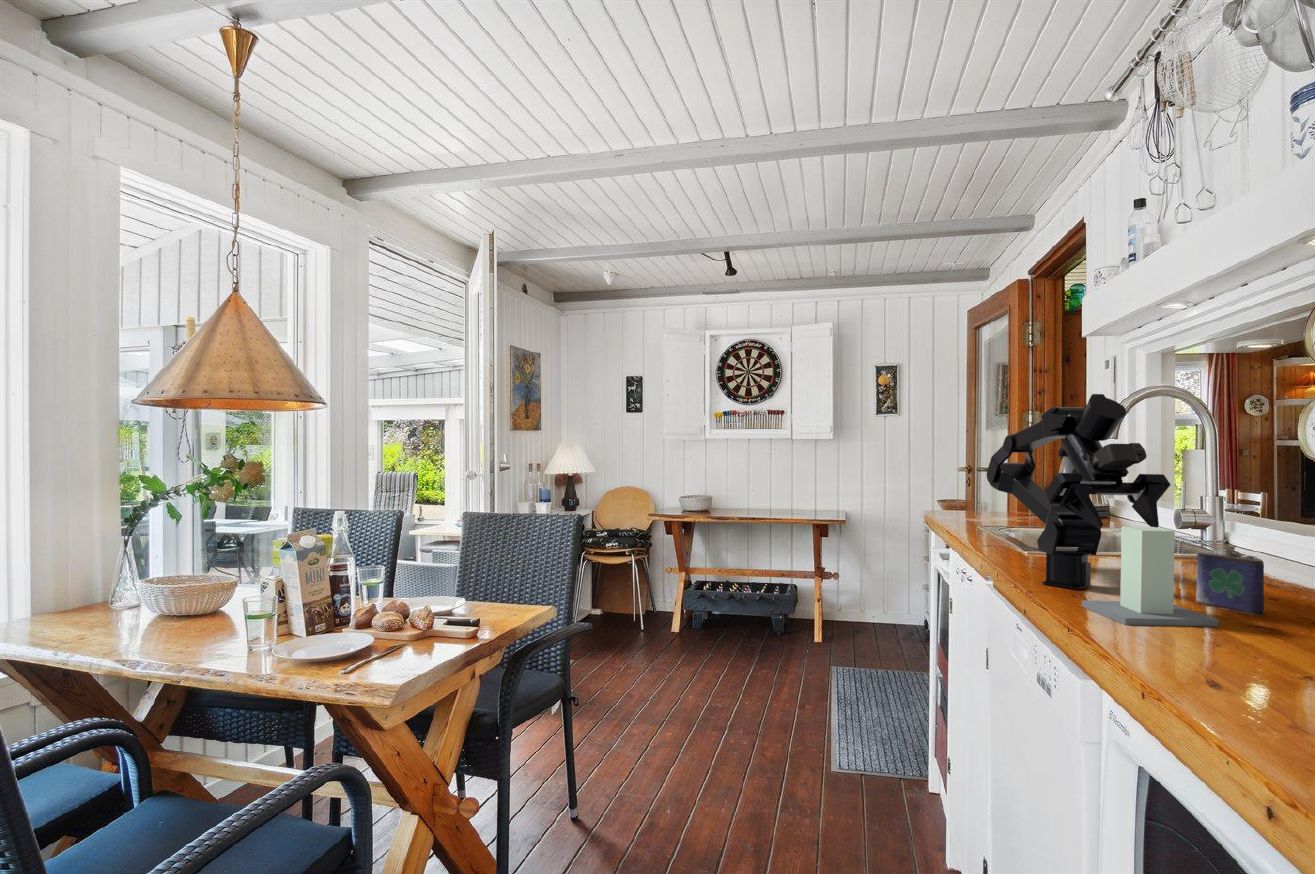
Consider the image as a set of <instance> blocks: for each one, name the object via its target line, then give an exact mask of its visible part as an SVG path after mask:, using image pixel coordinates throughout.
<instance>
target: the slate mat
mask: <svg viewBox="0 0 1315 874" xmlns="http://www.w3.org/2000/svg"><path fill="white" fill-rule="evenodd" d="M1081 607H1082V608H1084V609H1086V610H1090V611H1092V612H1094V613H1097V614H1099V615H1100V616H1103V617H1106V618H1108V619H1110V620H1113V621H1116V622H1118V623H1120V624H1122V625H1125V626H1169V627H1170V626H1175V627H1176V626H1178V627H1179V626H1180V627H1182V626H1183V627H1219V619H1217V618H1214V617H1212V616H1209V615H1205V614H1203V613H1200V612H1197V611H1193V610H1191V609H1187V608H1184V607H1182V606H1178V605H1176V604H1173V614H1148V613H1139V612H1136V611H1133V610H1131V609H1128V608H1126V607H1123V606H1121V605H1120V600H1081Z"/></svg>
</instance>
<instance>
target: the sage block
mask: <svg viewBox="0 0 1315 874" xmlns="http://www.w3.org/2000/svg"><path fill="white" fill-rule="evenodd" d="M1175 533H1176V532H1175V530H1171V529H1166V528H1161V527H1158V528H1156V527H1150V526H1135V525H1134V526H1132V525H1130V526H1129V525H1128V526H1126V525H1125V526H1123V525H1122V526H1121V535H1120V536H1121V540H1120V542H1121V543H1120V544H1121V547H1120V549H1121V551H1120V594H1119V595H1120V598H1119V601H1120V605H1121V606H1123V607H1126V608H1128V609H1131V610H1133V611H1136V612H1139V613H1148V614H1173V605H1174V598H1175V596H1174V595H1175V592H1174V591H1175V549H1176V548H1175V544H1176V543H1175V541H1176V540H1175V539H1176V538H1175V537H1176V534H1175Z"/></svg>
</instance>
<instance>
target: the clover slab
mask: <svg viewBox="0 0 1315 874" xmlns="http://www.w3.org/2000/svg"><path fill="white" fill-rule="evenodd" d="M1236 548H1238V547H1237V545H1234V544H1233V545H1228V546H1226V545H1225V546H1223V550H1225V554H1223V553H1222V554H1220V553H1215V552H1204V551H1200V552H1198V553H1197V554H1196V574H1197V575H1196V595H1195V597H1196V598H1195V601H1196V604H1199V605H1200V606H1205V607H1211V608H1216V609H1219V610H1225V611H1232V612H1235V613H1237V612H1238V613H1242V614H1247V615H1251V616H1259V617H1262V616H1264V612H1265V611H1264V609H1265V592H1264V591H1265V587H1264V586H1265V584H1264V582H1265V579H1264V578H1265V577H1264V576H1265V572H1264V571H1265V564H1264V561H1263V560H1262V559H1261V558H1255V557H1254V555H1249V554H1247V555H1246V556H1245V554H1244V553H1243V554H1242V553H1241V552H1239V551H1236V550H1235V549H1236Z"/></svg>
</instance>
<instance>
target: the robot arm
mask: <svg viewBox="0 0 1315 874" xmlns="http://www.w3.org/2000/svg"><path fill="white" fill-rule="evenodd" d="M1126 414H1127V410H1126V408H1125V406H1124V405H1123V404H1121V403H1119V402H1118V401H1116V400H1113V399H1111V398H1109V397H1106V396H1105V394H1103V393H1092V394H1091V396H1089V399H1088V402H1087V404H1086V406H1085V407H1084V406H1082V407H1081V406H1080V407H1079V406H1077V407H1076V406H1074V407H1073V406H1072V407H1071V406H1062V407H1061V406H1052V407H1050V408H1048V409H1047V410H1046V411H1045V412H1044V413H1042V415H1041V420H1040V421H1038V422H1036V423H1034V424H1032V425H1030V426H1028V427H1026V428H1023V429H1022V430H1019V431H1017V432H1015V433H1013V434H1012V433H1011V434H1008V435H1006V436H1005V437H1004V441H1003V443H1002V446H1000V448H999V449H997V451H996V452H994V453H993V455H992V456H991V458H990V461H989V464H988V468H987V469H986V470H987V471H986V478H987V482H988V484H989V485H990V487H992V488H994V489H995V490H996V491H999V492H1003V493H1006V494H1010V495H1013V496H1014V497H1015V498H1016V500H1018V501H1019V502H1020V503H1022V505H1024V506H1025V508H1027V509H1028V510H1029V511H1030V512H1031V513H1032V514H1033V515H1034V516H1036V517H1037V518H1038V520H1040V521H1041V522H1042V524H1044V529H1043V531H1042V532H1041V533H1040V535H1039V537H1038V538H1037V540H1036V543H1037V549H1038V551H1039V552H1042V553H1046V555H1045V559H1046V560H1045V580H1042V581H1041V584H1043V585H1050V586H1054V587H1059V588H1060V587H1061V588H1065V589H1066V588H1067V589H1072V590H1081V589H1085V588H1088V587H1090V586H1091V585H1092V583H1091V575H1092V574H1091V573H1092V572H1091V570H1092V569H1091V567H1092V565H1091V564H1092V563H1091V562H1089V561H1088V560H1089V556H1090V555H1091V556H1096V555H1097V553H1098V549H1099V545H1100V541H1101V537H1102V527H1103V526H1104V524H1103V523H1104V522H1103V521H1102V519H1101V516H1100V514H1099V512H1098V511H1097V508H1096V507H1095V505H1094V503H1093V501H1092V499H1091V497H1090V495H1096V496H1097V495H1098V496H1126V497H1127V499H1128V501H1129V502H1130V503H1131V504H1132V505H1131V508H1132V509H1133V510H1134V512H1136V513H1137V515H1139V517H1141V519H1142V520H1144V522H1145V523H1146V524H1147V525H1148V527H1156V528H1159V526H1160V523H1159V514H1158V502H1159V500H1160V499H1161V498H1162V497H1163V495H1164V494H1165V493H1166V491H1167V490H1168V489H1169V488H1170V487H1171V483H1170V482H1169V480H1168V478H1167V477H1166V475H1165V474H1162V473H1139V474H1138V475H1137V476H1136V478H1135V479H1134V480H1133V482H1124V481H1123V478H1125V477H1127V475H1128V474H1129V470H1128V469H1129V468H1130V467H1132V466H1133V465H1135V464H1137V465H1138V464H1140V463H1142V462H1143V461H1145V460H1146V459H1147V457H1148V456H1147V452H1146V450H1145V448H1144V447H1143V446H1142V444H1141V443H1140V442H1129V443H1110V444H1109V443H1107V444H1106V445H1104V446H1103V445H1102V444H1101V442H1102V441H1107V440H1109V439H1110V438H1111V437H1112V435H1113V434H1114V433H1115V431H1116V430H1117V428H1118V426H1119V425H1120V423H1121V422H1123V419H1124V418H1125V416H1126ZM1059 439H1063V440H1062V442H1061V444H1060V448H1059V449H1058V452H1057V453H1058V454H1057V455H1058V457H1059V458H1061V457H1064V458H1068V459H1069V461H1070V463H1071V465H1072V467H1073V470H1072V471H1071V472H1057V473H1056V474H1055V476H1054V477H1053V478H1052V480H1051V482H1050V483H1049V485H1048V486H1047V487H1046V490H1045V489H1043V488H1042V487H1041V486H1040V485H1039V484H1037V483H1036V482H1035V481H1034V480H1033V475H1034V472H1035V468H1036V464H1035V460H1034V458H1033V452H1034V450H1035V449H1037V448H1040V447H1042V446H1044V445H1047V444H1049V443H1052V442H1055V441H1057V440H1059ZM1013 453H1024V456H1025V460H1024V462H1006V461H1007V460H1008V459H1009V458H1010V457H1011V456H1012V454H1013Z"/></svg>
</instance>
